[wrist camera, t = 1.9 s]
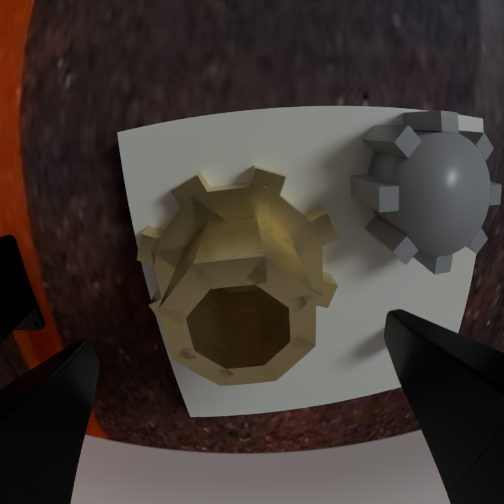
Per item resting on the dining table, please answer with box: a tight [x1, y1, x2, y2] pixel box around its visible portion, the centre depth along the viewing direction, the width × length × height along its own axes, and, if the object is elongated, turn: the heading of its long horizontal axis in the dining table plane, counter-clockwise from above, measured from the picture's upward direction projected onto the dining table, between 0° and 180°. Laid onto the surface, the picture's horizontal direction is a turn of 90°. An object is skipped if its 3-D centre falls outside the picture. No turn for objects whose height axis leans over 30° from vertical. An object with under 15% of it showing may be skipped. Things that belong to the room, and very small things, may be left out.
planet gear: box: [137, 165, 338, 386], centre depth 11 cm, size 8×8×5 cm
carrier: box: [118, 106, 502, 417], centre depth 14 cm, size 18×17×5 cm
